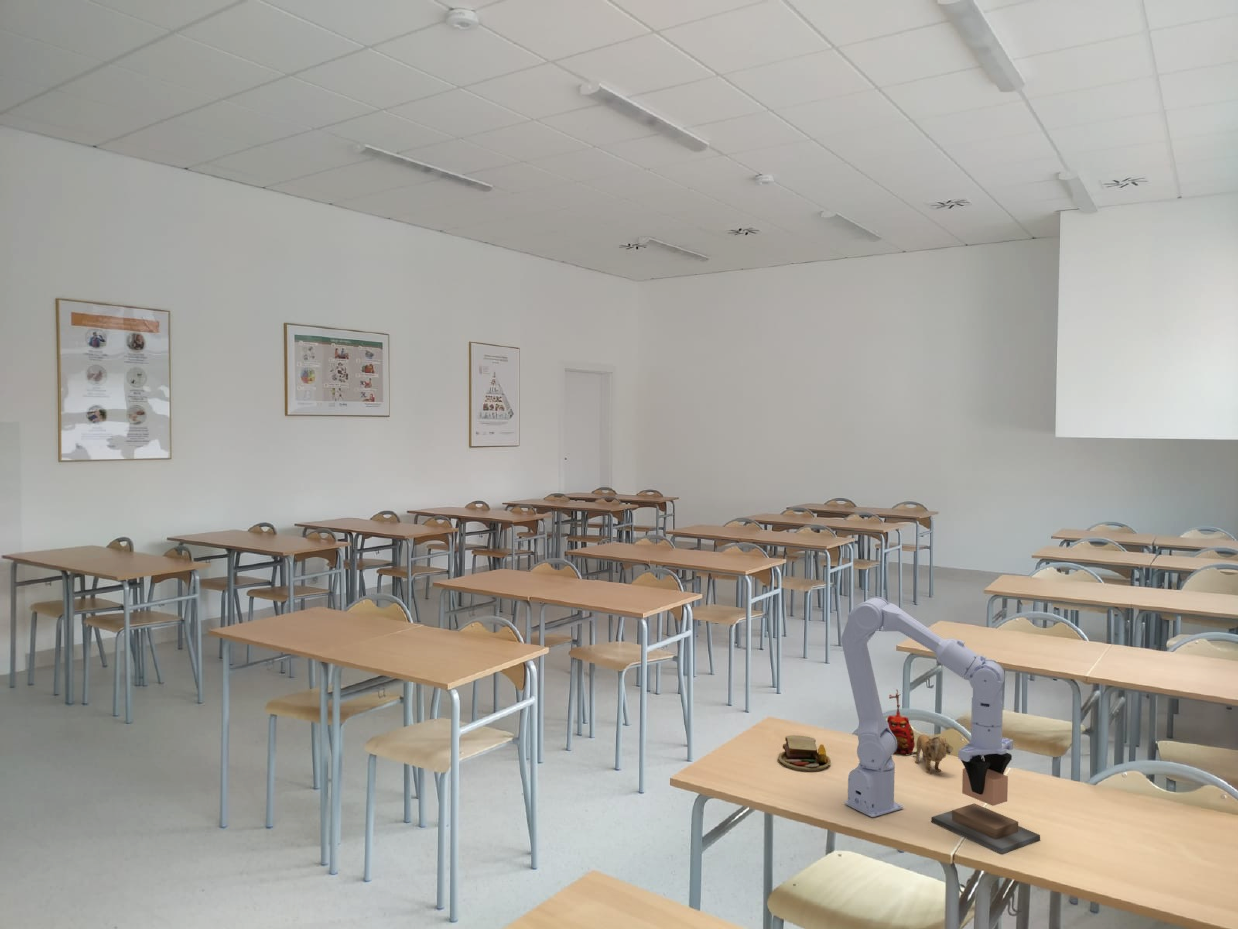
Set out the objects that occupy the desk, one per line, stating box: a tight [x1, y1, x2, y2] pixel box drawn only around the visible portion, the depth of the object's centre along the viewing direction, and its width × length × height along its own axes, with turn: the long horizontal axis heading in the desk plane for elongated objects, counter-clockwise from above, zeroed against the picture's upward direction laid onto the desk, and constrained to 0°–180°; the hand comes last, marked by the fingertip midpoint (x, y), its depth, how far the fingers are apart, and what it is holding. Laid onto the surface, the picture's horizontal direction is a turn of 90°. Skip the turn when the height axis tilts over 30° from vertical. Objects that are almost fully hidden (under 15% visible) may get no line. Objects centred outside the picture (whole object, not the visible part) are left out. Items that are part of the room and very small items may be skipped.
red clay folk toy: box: [886, 689, 916, 756], centre depth 215 cm, size 8×7×15 cm
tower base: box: [930, 803, 1041, 855], centre depth 170 cm, size 12×16×3 cm
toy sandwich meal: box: [777, 734, 832, 772], centre depth 207 cm, size 12×14×5 cm
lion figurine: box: [911, 734, 954, 774], centre depth 204 cm, size 15×5×9 cm, turn 10°
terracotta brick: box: [961, 767, 1009, 807], centre depth 170 cm, size 4×7×5 cm, turn 31°
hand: (985, 790), depth 170 cm, fingers closed on terracotta brick, 4 cm apart
